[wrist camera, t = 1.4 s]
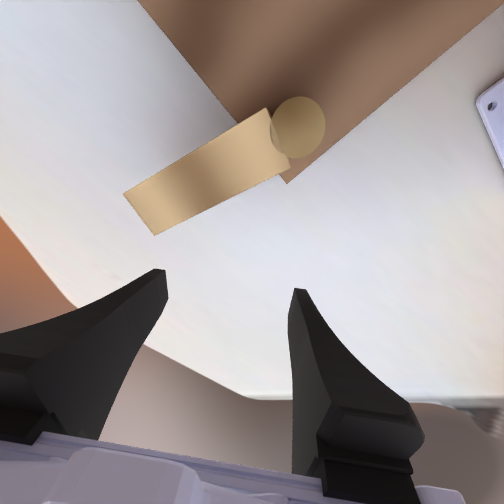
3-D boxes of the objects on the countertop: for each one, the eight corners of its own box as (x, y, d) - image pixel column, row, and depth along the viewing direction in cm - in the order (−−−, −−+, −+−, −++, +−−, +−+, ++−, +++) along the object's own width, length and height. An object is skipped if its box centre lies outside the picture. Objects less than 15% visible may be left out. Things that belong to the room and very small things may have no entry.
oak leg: (305, 87, 14) (312, 79, 11) (324, 141, 15) (334, 146, 12) (147, 182, 17) (122, 193, 15) (172, 218, 19) (154, 235, 16)
